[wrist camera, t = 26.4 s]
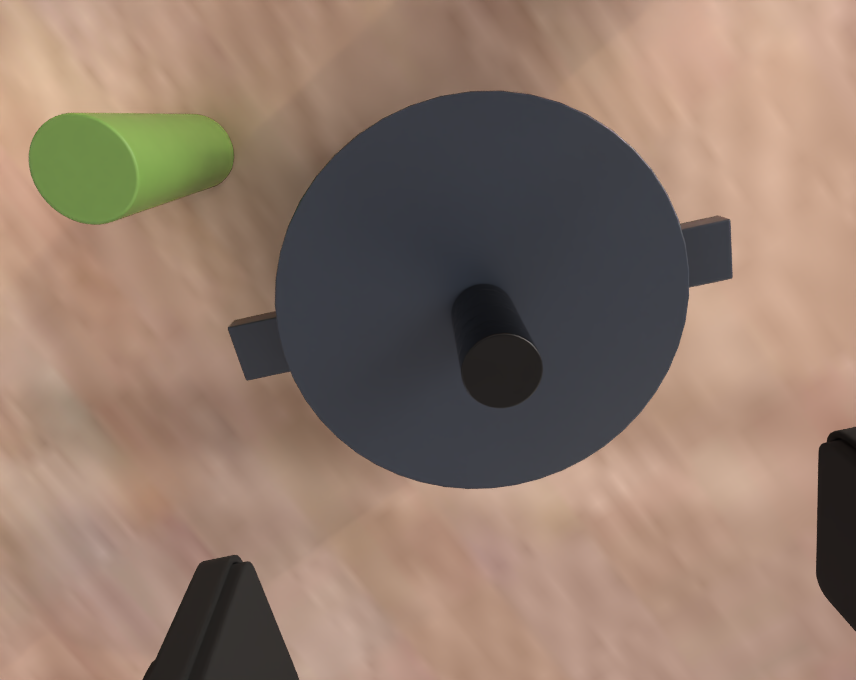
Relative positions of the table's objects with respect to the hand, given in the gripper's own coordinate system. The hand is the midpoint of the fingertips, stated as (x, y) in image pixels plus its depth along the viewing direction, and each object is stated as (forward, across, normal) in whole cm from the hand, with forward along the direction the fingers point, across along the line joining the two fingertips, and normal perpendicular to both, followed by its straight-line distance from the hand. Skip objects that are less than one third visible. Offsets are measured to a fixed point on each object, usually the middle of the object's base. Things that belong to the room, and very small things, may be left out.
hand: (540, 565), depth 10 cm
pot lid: (+14, -1, 0) cm, 14 cm away
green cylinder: (+21, +10, -8) cm, 24 cm away
